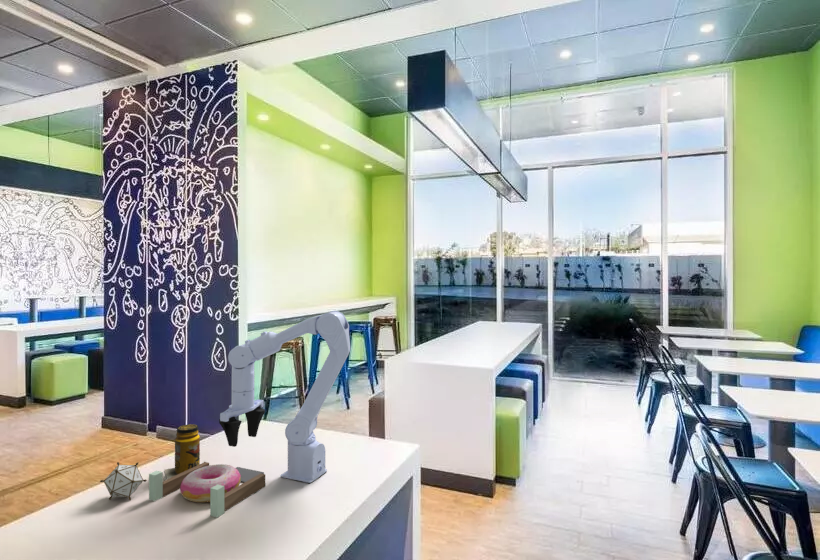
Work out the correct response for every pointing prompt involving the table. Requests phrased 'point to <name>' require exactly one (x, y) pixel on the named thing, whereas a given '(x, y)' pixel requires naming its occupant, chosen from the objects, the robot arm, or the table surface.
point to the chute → (217, 496)
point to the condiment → (185, 450)
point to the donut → (209, 481)
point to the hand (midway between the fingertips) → (242, 441)
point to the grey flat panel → (247, 474)
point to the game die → (123, 481)
